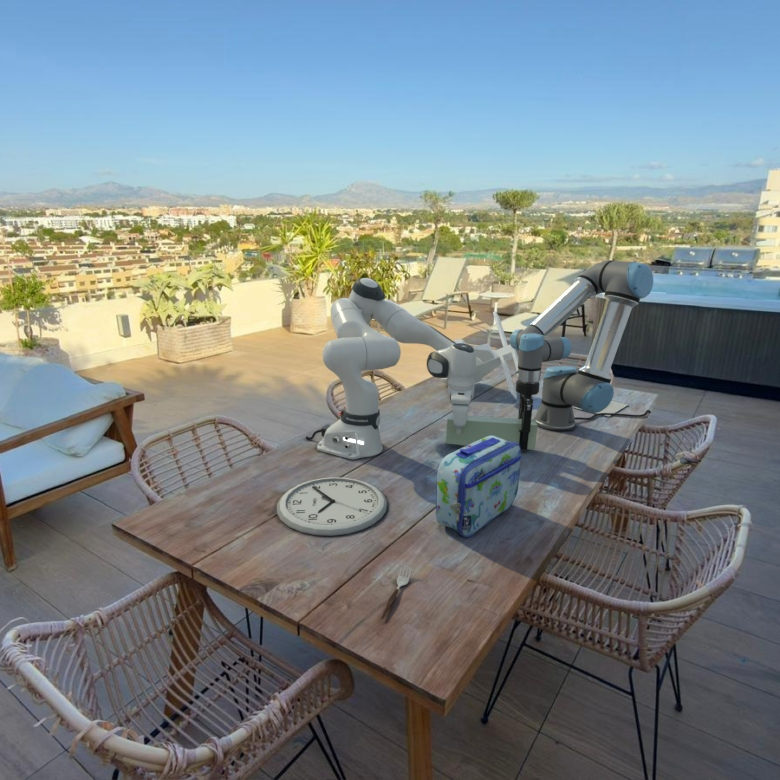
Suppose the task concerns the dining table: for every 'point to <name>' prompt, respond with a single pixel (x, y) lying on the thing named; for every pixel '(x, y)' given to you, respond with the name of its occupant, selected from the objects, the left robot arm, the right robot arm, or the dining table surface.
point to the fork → (401, 582)
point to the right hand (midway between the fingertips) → (521, 445)
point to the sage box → (489, 430)
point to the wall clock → (331, 506)
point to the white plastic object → (493, 358)
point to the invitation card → (611, 408)
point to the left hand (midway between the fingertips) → (458, 429)
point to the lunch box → (477, 484)
